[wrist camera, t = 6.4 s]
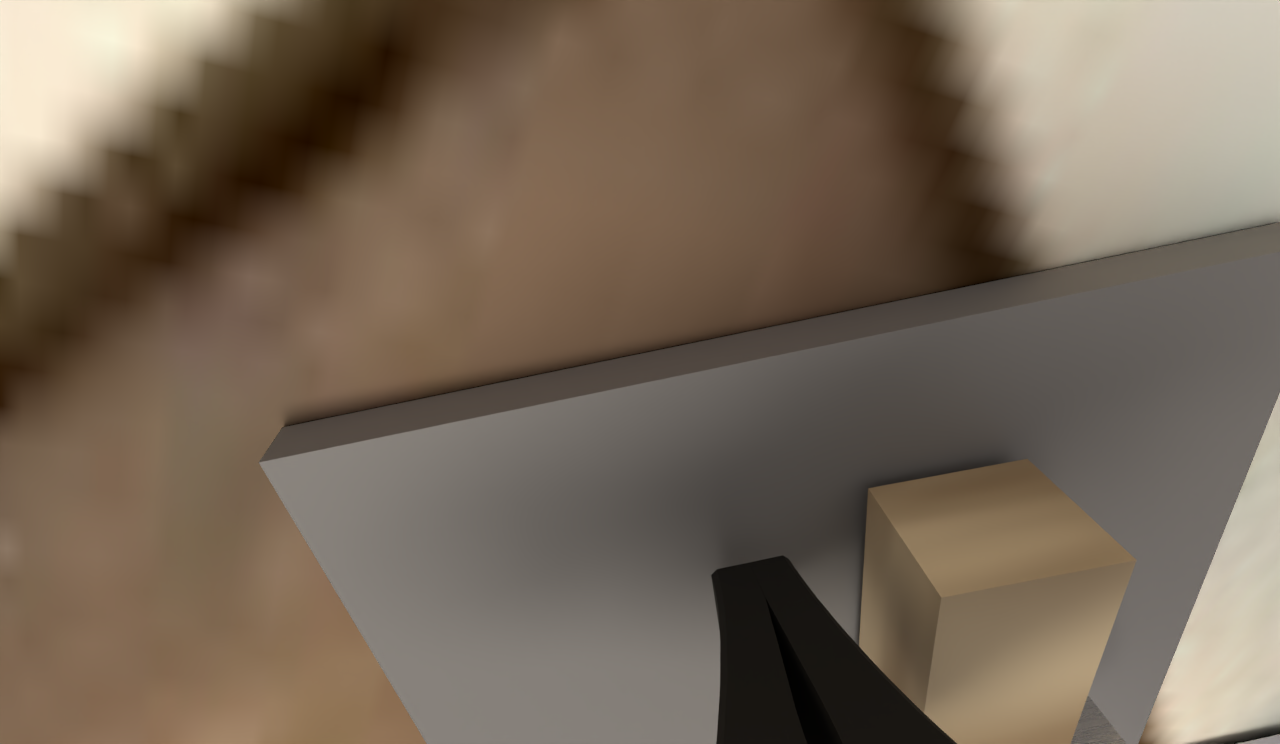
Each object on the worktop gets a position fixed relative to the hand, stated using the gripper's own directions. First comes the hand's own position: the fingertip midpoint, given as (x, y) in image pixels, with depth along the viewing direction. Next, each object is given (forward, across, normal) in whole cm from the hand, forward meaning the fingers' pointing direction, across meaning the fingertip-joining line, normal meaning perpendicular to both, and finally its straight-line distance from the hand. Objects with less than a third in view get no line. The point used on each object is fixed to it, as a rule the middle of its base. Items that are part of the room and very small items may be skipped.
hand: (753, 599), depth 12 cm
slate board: (+2, -2, +5) cm, 5 cm away
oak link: (+1, -4, +5) cm, 7 cm away
